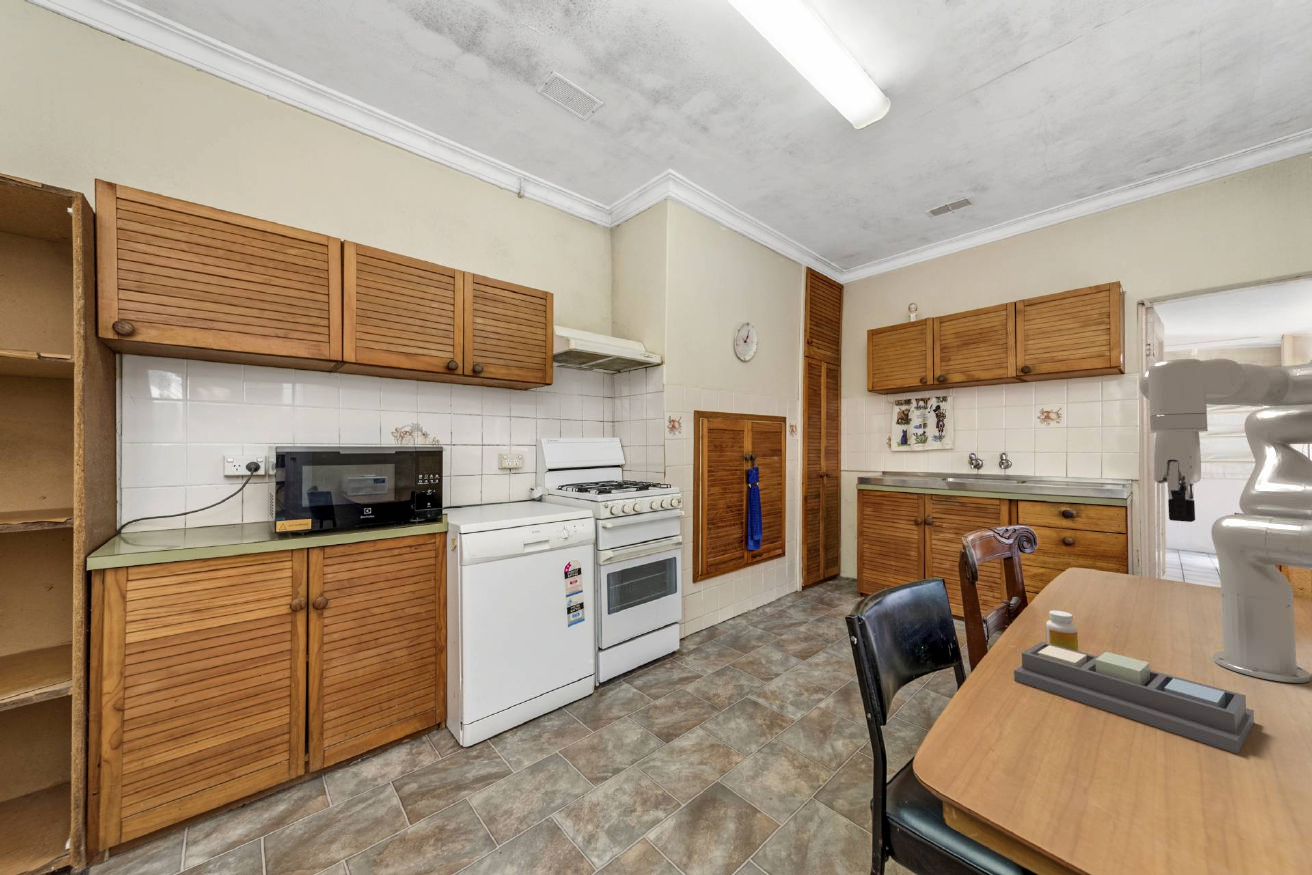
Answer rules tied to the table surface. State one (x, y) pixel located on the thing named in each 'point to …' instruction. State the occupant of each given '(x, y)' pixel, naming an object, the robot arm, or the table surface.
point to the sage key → (1123, 668)
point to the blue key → (1196, 692)
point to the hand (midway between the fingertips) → (1182, 520)
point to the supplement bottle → (1061, 630)
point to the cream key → (1063, 656)
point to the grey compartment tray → (1141, 699)
